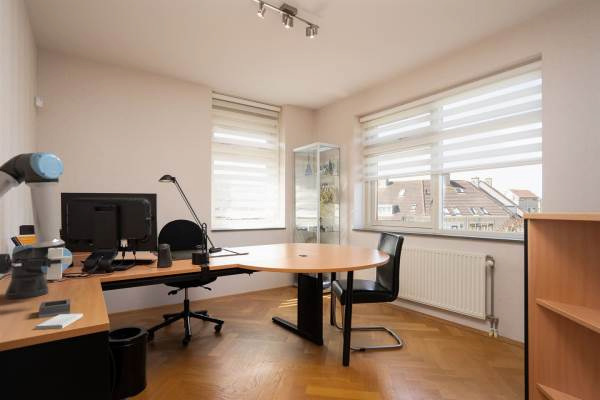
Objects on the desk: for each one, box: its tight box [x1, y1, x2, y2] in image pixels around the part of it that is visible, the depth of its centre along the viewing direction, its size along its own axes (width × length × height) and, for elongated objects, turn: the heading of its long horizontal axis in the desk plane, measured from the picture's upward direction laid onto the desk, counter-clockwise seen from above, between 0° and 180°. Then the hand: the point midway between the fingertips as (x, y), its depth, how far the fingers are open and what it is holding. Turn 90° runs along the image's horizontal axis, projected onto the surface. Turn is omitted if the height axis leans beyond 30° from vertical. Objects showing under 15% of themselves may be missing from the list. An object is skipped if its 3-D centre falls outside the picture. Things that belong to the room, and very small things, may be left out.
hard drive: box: [34, 313, 84, 330], centre depth 108 cm, size 2×8×12 cm
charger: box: [46, 248, 63, 281], centre depth 126 cm, size 4×4×12 cm
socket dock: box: [38, 298, 72, 319], centre depth 118 cm, size 9×9×4 cm
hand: (71, 259), depth 129 cm, fingers closed on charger, 4 cm apart
